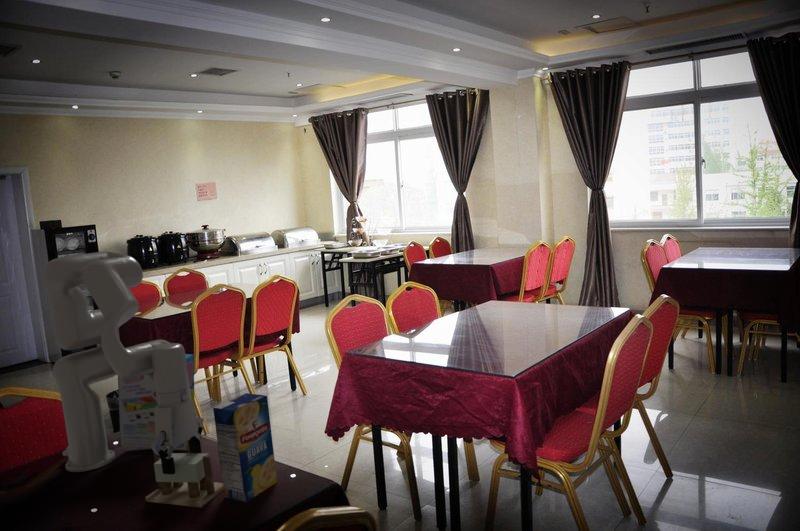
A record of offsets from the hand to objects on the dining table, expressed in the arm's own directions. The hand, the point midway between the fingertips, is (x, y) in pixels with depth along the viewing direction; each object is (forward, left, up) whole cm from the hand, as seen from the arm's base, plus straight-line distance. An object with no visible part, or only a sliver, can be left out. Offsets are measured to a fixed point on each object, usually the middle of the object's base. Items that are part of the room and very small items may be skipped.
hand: (183, 464), depth 150 cm
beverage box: (+15, +5, -8) cm, 18 cm away
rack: (0, 0, -7) cm, 7 cm away
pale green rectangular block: (0, 0, -3) cm, 3 cm away
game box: (-28, +22, -6) cm, 36 cm away
